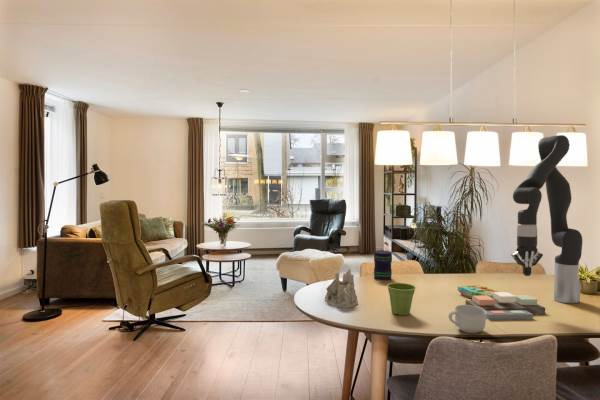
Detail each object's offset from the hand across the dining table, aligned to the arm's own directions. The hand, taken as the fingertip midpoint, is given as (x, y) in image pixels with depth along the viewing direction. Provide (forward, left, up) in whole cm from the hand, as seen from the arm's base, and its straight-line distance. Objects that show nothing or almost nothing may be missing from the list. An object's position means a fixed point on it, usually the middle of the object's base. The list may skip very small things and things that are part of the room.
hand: (526, 275), depth 177 cm
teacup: (+36, +24, -15) cm, 46 cm away
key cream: (+9, 0, -10) cm, 14 cm away
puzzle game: (+10, -17, -15) cm, 26 cm away
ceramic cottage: (+77, -14, -15) cm, 80 cm away
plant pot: (+54, +3, -15) cm, 56 cm away
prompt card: (+13, +10, -15) cm, 22 cm away
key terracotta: (+18, 0, -12) cm, 22 cm away
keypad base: (+9, 0, -15) cm, 17 cm away
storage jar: (+47, -59, -15) cm, 77 cm away
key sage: (0, 0, -12) cm, 12 cm away
